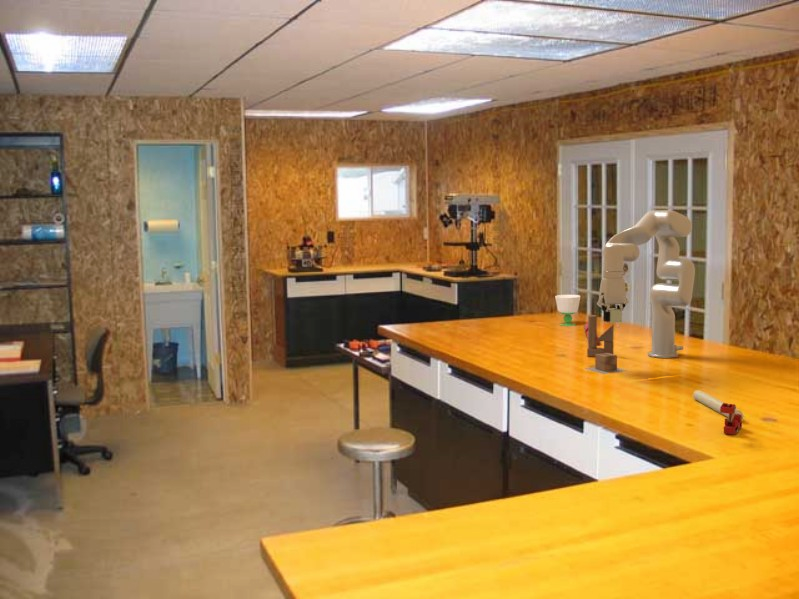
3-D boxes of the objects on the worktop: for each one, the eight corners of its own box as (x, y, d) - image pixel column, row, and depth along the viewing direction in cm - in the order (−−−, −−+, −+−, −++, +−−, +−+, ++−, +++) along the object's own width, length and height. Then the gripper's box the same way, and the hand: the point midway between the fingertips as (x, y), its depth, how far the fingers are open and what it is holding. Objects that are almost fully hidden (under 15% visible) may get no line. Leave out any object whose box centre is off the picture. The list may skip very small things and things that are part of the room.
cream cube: (613, 320, 334) (614, 308, 333) (621, 322, 329) (622, 309, 329) (603, 321, 332) (603, 309, 331) (611, 322, 327) (611, 310, 327)
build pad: (609, 367, 339) (609, 365, 339) (627, 372, 328) (627, 370, 328) (584, 370, 335) (584, 368, 335) (602, 375, 324) (602, 373, 324)
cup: (555, 326, 450) (555, 297, 448) (554, 322, 463) (554, 294, 461) (581, 326, 447) (581, 297, 445) (579, 322, 461) (580, 294, 459)
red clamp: (742, 427, 248) (743, 396, 246) (731, 439, 236) (732, 406, 235) (731, 426, 250) (731, 394, 248) (719, 437, 238) (720, 404, 237)
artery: (599, 346, 390) (599, 335, 389) (588, 346, 390) (588, 335, 390) (593, 332, 431) (593, 322, 430) (583, 332, 431) (583, 322, 431)
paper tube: (734, 424, 253) (735, 412, 253) (692, 400, 283) (692, 390, 282) (746, 423, 253) (747, 411, 253) (703, 400, 283) (703, 389, 283)
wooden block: (612, 357, 359) (612, 316, 357) (587, 356, 363) (587, 316, 361) (613, 356, 363) (613, 315, 360) (588, 355, 367) (588, 314, 365)
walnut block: (607, 367, 336) (607, 352, 335) (616, 370, 330) (617, 355, 329) (595, 368, 333) (595, 354, 333) (604, 371, 328) (604, 356, 327)
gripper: (624, 274, 335) (623, 318, 337) (589, 275, 329) (589, 321, 331) (636, 275, 329) (635, 320, 330) (601, 276, 322) (600, 323, 324)
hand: (612, 320), depth 331 cm, fingers closed on cream cube, 5 cm apart
